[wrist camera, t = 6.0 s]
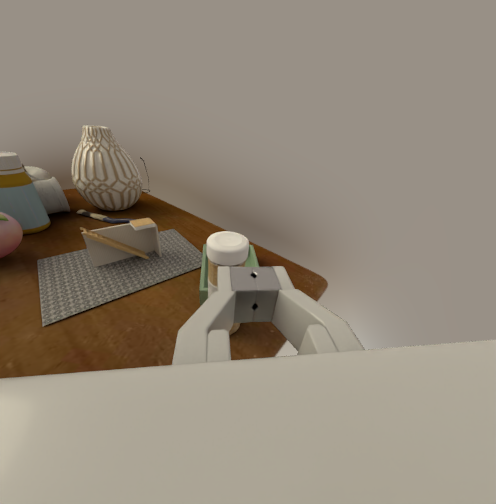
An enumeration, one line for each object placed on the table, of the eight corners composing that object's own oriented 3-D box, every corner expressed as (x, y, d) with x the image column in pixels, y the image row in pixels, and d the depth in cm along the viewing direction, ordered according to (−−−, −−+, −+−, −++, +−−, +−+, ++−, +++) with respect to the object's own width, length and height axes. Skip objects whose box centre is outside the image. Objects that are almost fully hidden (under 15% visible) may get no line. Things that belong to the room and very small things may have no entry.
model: (161, 256, 40) (156, 220, 36) (98, 275, 34) (82, 234, 30) (155, 249, 42) (149, 214, 38) (94, 266, 36) (79, 226, 32)
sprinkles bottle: (243, 333, 27) (255, 248, 20) (209, 340, 26) (209, 252, 19) (236, 308, 31) (243, 229, 24) (205, 312, 30) (204, 230, 23)
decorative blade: (155, 223, 52) (140, 230, 48) (156, 226, 52) (141, 233, 48) (94, 206, 57) (75, 210, 53) (95, 209, 57) (76, 214, 53)
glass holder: (69, 214, 56) (-12, 230, 47) (43, 160, 53) (-51, 166, 43) (71, 208, 50) (-23, 226, 40) (41, 147, 46) (-69, 150, 37)
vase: (133, 194, 70) (120, 126, 59) (155, 209, 61) (143, 131, 50) (76, 202, 59) (47, 121, 49) (91, 220, 50) (60, 126, 40)
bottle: (35, 219, 49) (1, 150, 41) (59, 225, 47) (29, 154, 40) (-1, 231, 43) (-49, 153, 35) (25, 238, 42) (-18, 158, 34)
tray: (263, 303, 33) (266, 288, 31) (199, 305, 31) (199, 290, 29) (251, 256, 44) (252, 244, 42) (203, 256, 42) (203, 244, 41)
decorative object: (55, 194, 63) (41, 159, 58) (65, 201, 59) (50, 164, 54) (15, 199, 57) (-5, 160, 52) (22, 208, 53) (2, 167, 48)
